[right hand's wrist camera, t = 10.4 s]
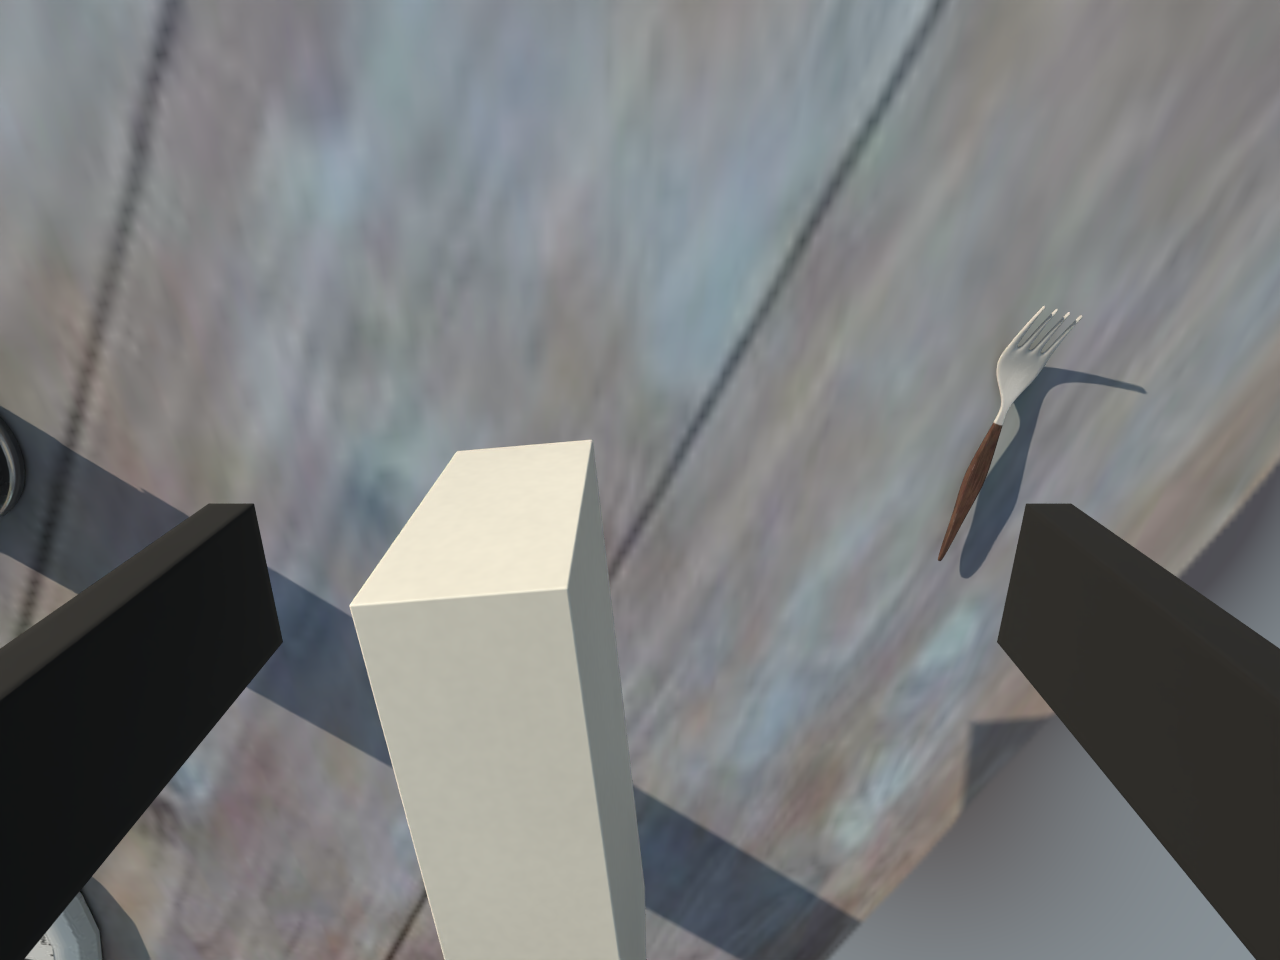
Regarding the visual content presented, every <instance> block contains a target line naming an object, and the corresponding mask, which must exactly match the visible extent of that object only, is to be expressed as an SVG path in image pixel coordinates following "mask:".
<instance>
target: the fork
mask: <svg viewBox="0 0 1280 960" xmlns="http://www.w3.org/2000/svg"><path fill="white" fill-rule="evenodd" d="M1045 308H1046V307H1045V306H1043V307H1042V308H1041V309H1040V310H1039V311H1038V312H1037V313H1036V315H1035V316H1034V317H1033V318H1032V319H1031V320H1030V321H1029V322H1028V323H1027V324H1026V325H1025V327H1024V328H1023V329H1022V330H1021V331H1020V332H1019V333H1018V335H1017V336H1016V337H1015V338H1014V339H1013V341H1012V342H1011V343H1010V344H1009V345H1008V347H1007V348H1006V349H1005V350H1004V352H1003V353H1002V355H1001V356H1000V358H999V361H998V364H997V381H998V385H999V390H1000V395H1001V408H1000V411H999V413H998V415H997V417H996V419H995V421H994V423H993V424H992V426H991V428H990V430H989V431H988V433H987V435H986V437H985V438H984V440H983V442H982V444H981V445H980V447H979V449H978V451H977V452H976V454H975V456H974V458H973V460H972V461H971V463H970V465H969V467H968V469H967V472H966V474H965V476H964V479H963V481H962V484H961V487H960V491H959V494H958V497H957V501H956V504H955V507H954V511H953V514H952V517H951V520H950V523H949V526H948V529H947V532H946V534H945V537H944V540H943V543H942V546H941V550H940V553H939V557H938V561H941V560H942V559H943V557H944V556H945V554H946V552H947V550H948V549H949V547H950V545H951V543H952V541H953V540H954V538H955V536H956V534H957V532H958V530H959V528H960V526H961V524H962V523H963V521H964V519H965V517H966V515H967V513H968V512H969V510H970V508H971V506H972V505H973V503H974V501H975V499H976V497H977V496H978V494H979V492H980V490H981V488H982V486H983V483H984V481H985V479H986V476H987V473H988V470H989V467H990V464H991V461H992V458H993V455H994V452H995V448H996V445H997V442H998V438H999V435H1000V432H1001V428H1002V425H1003V422H1004V419H1005V416H1006V414H1007V412H1008V409H1009V408H1010V406H1011V405H1012V403H1013V402H1014V401H1015V400H1016V398H1017V397H1018V396H1019V395H1020V394H1021V393H1022V392H1023V391H1024V390H1025V389H1026V388H1027V387H1028V386H1029V385H1030V384H1031V383H1032V382H1033V380H1034V379H1035V378H1036V377H1037V376H1038V374H1039V373H1040V372H1041V370H1042V369H1043V367H1044V366H1045V364H1046V363H1047V361H1048V359H1049V358H1050V356H1051V355H1052V353H1053V352H1054V351H1055V349H1056V348H1057V347H1058V345H1059V344H1060V343H1061V342H1062V340H1063V339H1064V338H1065V337H1066V335H1067V334H1068V333H1069V332H1070V331H1071V329H1072V328H1073V327H1074V326H1075V325H1076V324H1077V322H1078V321H1079V320H1080V319H1081V318H1082V315H1080V316H1079V317H1078V318H1077V319H1076V320H1075V321H1074V322H1073V323H1072V324H1071V325H1070V326H1069V327H1068V328H1067V329H1066V330H1065V331H1064V332H1063V333H1062V334H1061V335H1060V336H1059V338H1058V339H1057V340H1056V341H1055V342H1054V343H1053V344H1052V345H1051V346H1050V347H1049V348H1048V349H1047V350H1046V351H1045V352H1044V353H1041V350H1042V348H1043V347H1044V345H1045V344H1046V343H1047V341H1048V340H1049V339H1050V338H1051V336H1052V335H1053V334H1054V333H1055V331H1056V330H1057V329H1058V328H1059V326H1060V325H1061V324H1062V323H1063V322H1064V320H1065V319H1066V318H1067V317H1068V316H1069V315H1070V312H1068V313H1067V314H1066V315H1065V316H1064V317H1063V318H1062V319H1061V320H1060V321H1059V322H1058V323H1057V324H1056V325H1055V326H1054V327H1053V328H1052V329H1051V330H1050V331H1049V332H1048V334H1047V335H1046V336H1045V337H1044V338H1043V339H1042V340H1041V341H1040V342H1039V343H1038V345H1037V346H1036V347H1035V348H1033V349H1032V350H1029V348H1030V346H1031V344H1032V343H1033V341H1034V340H1035V339H1036V337H1037V336H1038V335H1039V333H1040V332H1041V331H1042V330H1043V328H1044V327H1045V326H1046V324H1047V323H1048V322H1049V321H1050V319H1051V318H1052V317H1053V316H1054V315H1055V313H1056V312H1057V311H1058V310H1057V309H1056V310H1055V311H1054V312H1053V313H1052V314H1051V315H1050V316H1049V317H1048V318H1047V319H1046V320H1045V321H1044V322H1043V323H1042V324H1041V325H1040V326H1039V327H1038V328H1037V330H1036V331H1035V332H1034V333H1033V334H1032V335H1031V336H1030V337H1029V338H1028V340H1027V341H1026V342H1025V343H1024V344H1023V345H1022V346H1020V347H1018V346H1017V345H1018V343H1019V342H1020V340H1021V338H1022V337H1023V336H1024V334H1025V333H1026V332H1027V330H1028V329H1029V328H1030V326H1031V325H1032V324H1033V322H1034V321H1035V320H1036V319H1037V317H1038V316H1039V315H1040V314H1041V312H1042V311H1043V310H1044V309H1045Z"/></svg>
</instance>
